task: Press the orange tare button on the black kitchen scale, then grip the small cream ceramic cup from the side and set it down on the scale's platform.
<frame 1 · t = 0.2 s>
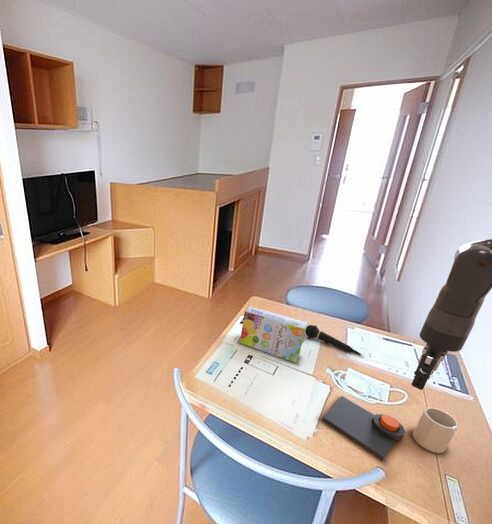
hand: (421, 379, 77), 20 cm above the table, tool pointing down, fingers open, 8 cm apart
scale: (359, 426, 87), on the table
tare button: (389, 423, 84), point 4 cm above the table, slide at 0.1 cm
microphone: (329, 345, 121), on the table
snack box: (268, 349, 118), on the table
cup: (428, 441, 83), on the table
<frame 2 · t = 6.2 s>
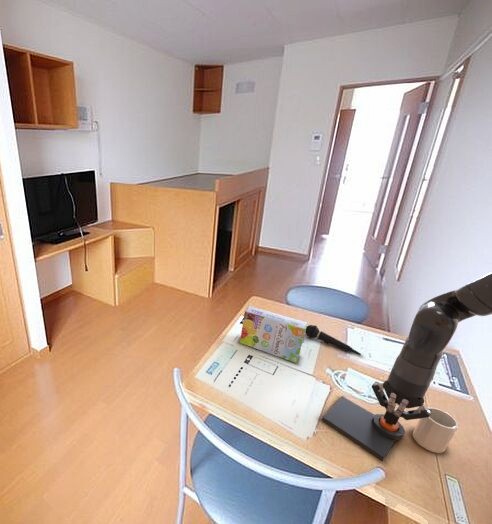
hand: (389, 422, 84), 4 cm above the table, tool pointing down, fingers closed
tare button: (388, 424, 84), point 3 cm above the table, slide at -0.4 cm, touching gripper
everything else where it was.
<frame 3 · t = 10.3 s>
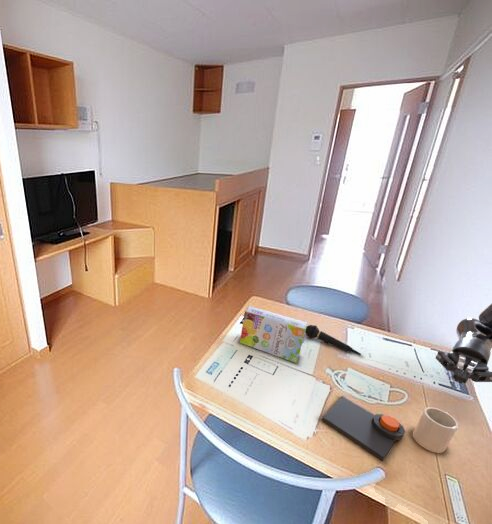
hand: (459, 379, 82), 16 cm above the table, tool horizontal, fingers closed
tare button: (389, 423, 84), point 4 cm above the table, slide at 0.1 cm
everything else where it was.
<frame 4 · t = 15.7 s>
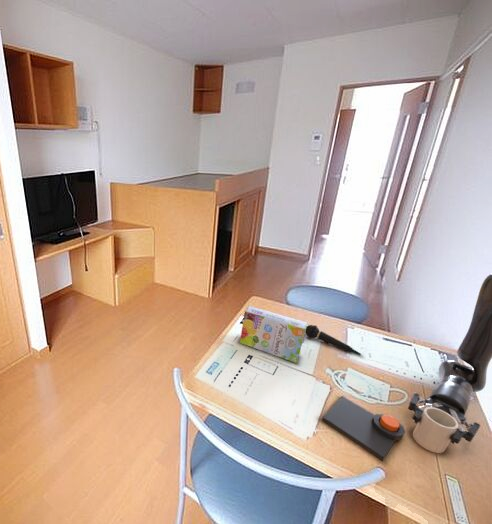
hand: (434, 430, 79), 6 cm above the table, tool horizontal, fingers closed on cup, 6 cm apart
cup: (428, 441, 83), on the table, touching gripper
everything else where it was.
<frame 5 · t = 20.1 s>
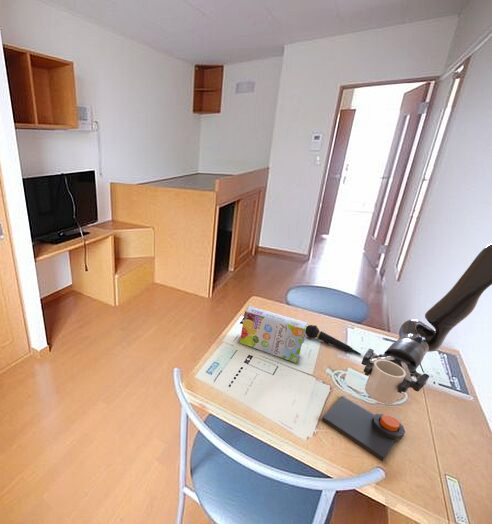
hand: (383, 380, 79), 18 cm above the table, tool horizontal, fingers closed on cup, 6 cm apart
cup: (379, 394, 82), point 12 cm above the table, touching gripper
everything else where it was.
when the fingers open (7 cm above the table, at t = 24.4 s): cup stays where it is, resting on scale.
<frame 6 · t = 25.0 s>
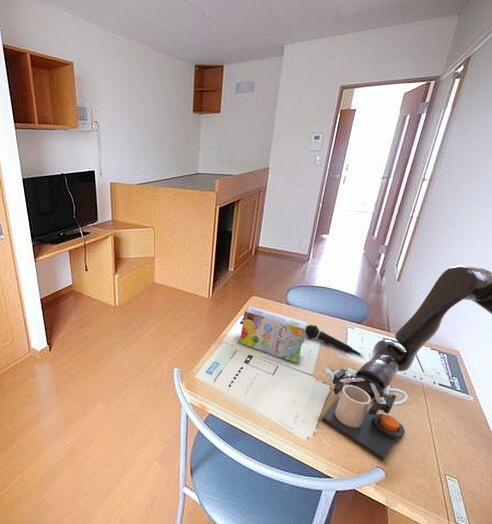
hand: (352, 401, 84), 9 cm above the table, tool horizontal, fingers open, 8 cm apart
cup: (347, 417, 88), point 1 cm above the table, touching scale
everything else where it was.
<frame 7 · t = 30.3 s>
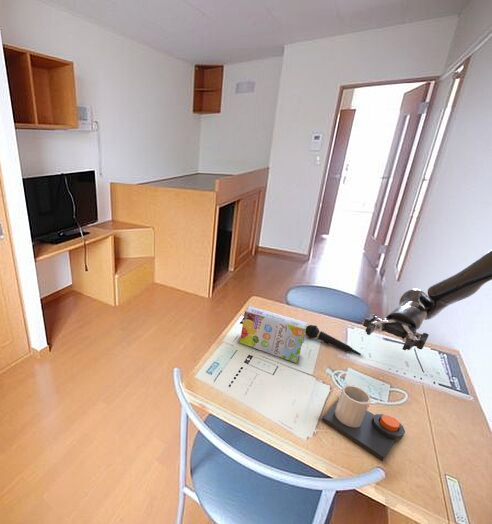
hand: (386, 339, 85), 24 cm above the table, tool horizontal, fingers open, 8 cm apart
nothing on the table moved.
at the end: tare button pushed in 0.9 cm at the most during the clip, back to where it started at the end; cup inside the target area on the scale (3.2 cm from its centre), point 1.4 cm above the scale's base; cup tilted 0° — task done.
